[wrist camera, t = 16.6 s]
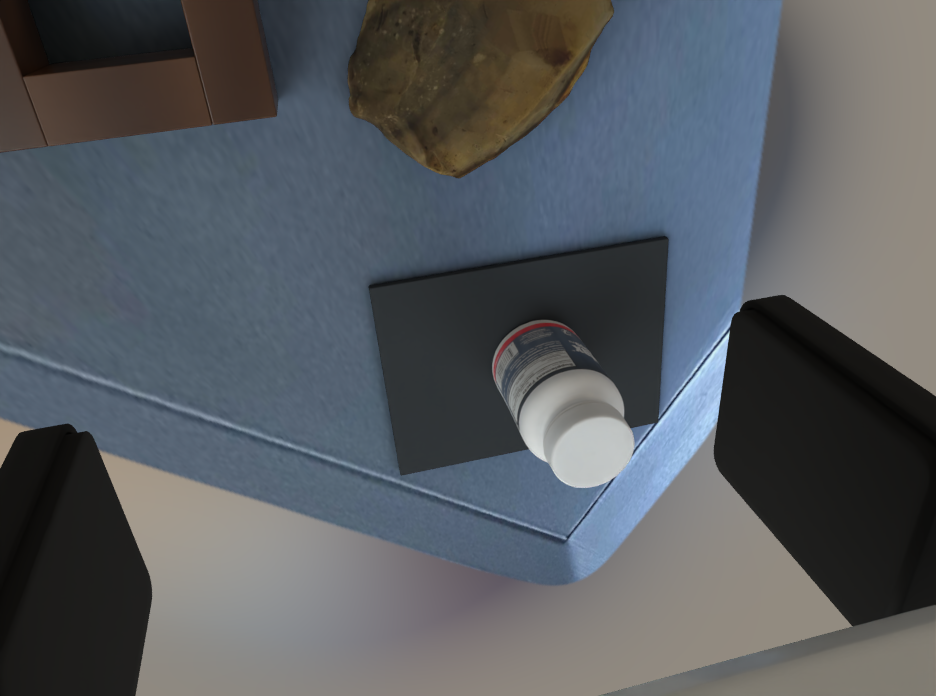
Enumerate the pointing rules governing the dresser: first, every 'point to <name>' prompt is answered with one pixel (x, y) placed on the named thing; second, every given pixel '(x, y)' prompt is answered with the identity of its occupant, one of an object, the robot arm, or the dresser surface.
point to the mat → (490, 320)
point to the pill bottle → (563, 403)
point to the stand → (134, 80)
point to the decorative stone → (468, 72)
